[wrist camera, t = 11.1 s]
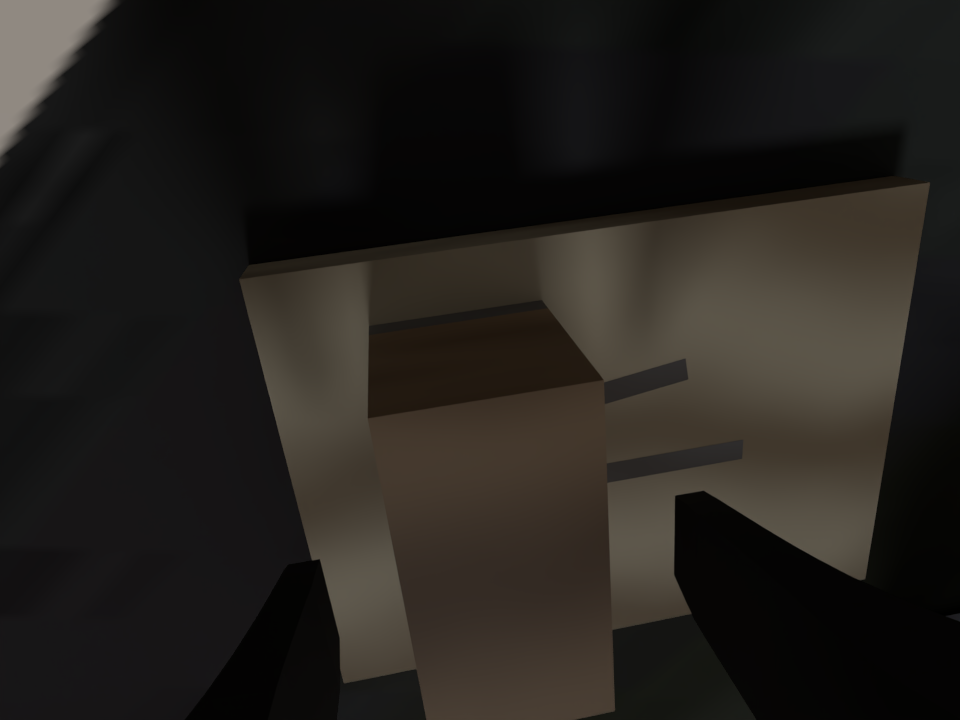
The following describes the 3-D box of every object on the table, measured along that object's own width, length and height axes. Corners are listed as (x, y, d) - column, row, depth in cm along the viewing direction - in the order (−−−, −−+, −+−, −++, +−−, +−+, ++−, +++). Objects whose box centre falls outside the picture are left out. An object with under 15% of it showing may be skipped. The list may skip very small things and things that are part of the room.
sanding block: (561, 571, 19) (614, 711, 14) (418, 598, 18) (432, 749, 14) (541, 300, 15) (604, 380, 11) (368, 325, 15) (367, 418, 11)
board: (840, 553, 22) (865, 579, 20) (345, 650, 20) (344, 683, 19) (893, 175, 17) (929, 182, 16) (248, 265, 15) (239, 279, 14)
